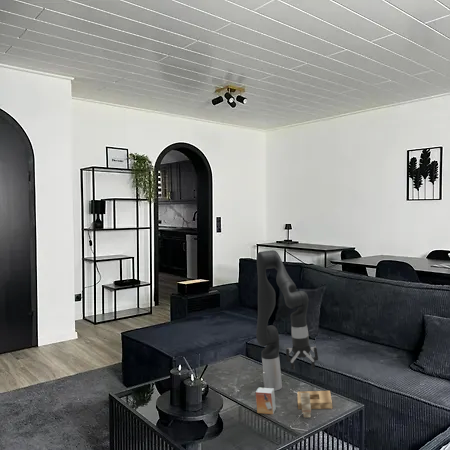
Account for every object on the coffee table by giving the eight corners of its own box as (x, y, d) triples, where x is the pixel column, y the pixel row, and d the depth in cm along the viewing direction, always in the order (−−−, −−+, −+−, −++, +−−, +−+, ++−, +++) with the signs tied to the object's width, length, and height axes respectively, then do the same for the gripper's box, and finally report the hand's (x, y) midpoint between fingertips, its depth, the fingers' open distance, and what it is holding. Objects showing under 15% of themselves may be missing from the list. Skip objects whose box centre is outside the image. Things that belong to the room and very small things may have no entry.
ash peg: (302, 418, 197) (300, 397, 197) (302, 413, 201) (300, 392, 201) (311, 417, 197) (309, 396, 196) (311, 413, 201) (309, 392, 200)
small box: (257, 413, 206) (254, 392, 205) (260, 407, 211) (258, 386, 210) (273, 414, 203) (271, 393, 202) (276, 408, 208) (274, 387, 208)
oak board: (298, 409, 206) (297, 403, 205) (298, 397, 217) (297, 391, 217) (332, 408, 203) (331, 402, 203) (330, 396, 215) (329, 390, 214)
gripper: (315, 331, 199) (318, 365, 200) (284, 333, 201) (287, 366, 202) (316, 337, 192) (319, 372, 193) (284, 338, 194) (287, 373, 195)
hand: (303, 369), depth 197 cm, fingers open, 8 cm apart
